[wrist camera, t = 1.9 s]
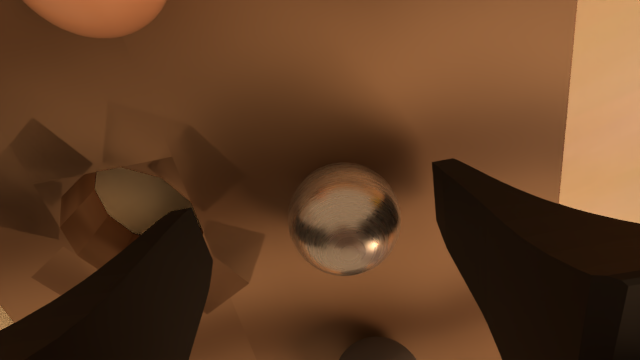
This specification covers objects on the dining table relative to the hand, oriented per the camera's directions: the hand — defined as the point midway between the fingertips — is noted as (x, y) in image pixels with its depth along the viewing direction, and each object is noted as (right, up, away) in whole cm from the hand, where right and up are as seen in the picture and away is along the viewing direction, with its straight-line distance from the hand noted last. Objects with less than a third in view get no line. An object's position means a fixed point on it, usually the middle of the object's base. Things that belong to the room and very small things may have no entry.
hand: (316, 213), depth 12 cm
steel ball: (+1, 0, -1) cm, 1 cm away
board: (-2, +1, +3) cm, 4 cm away
